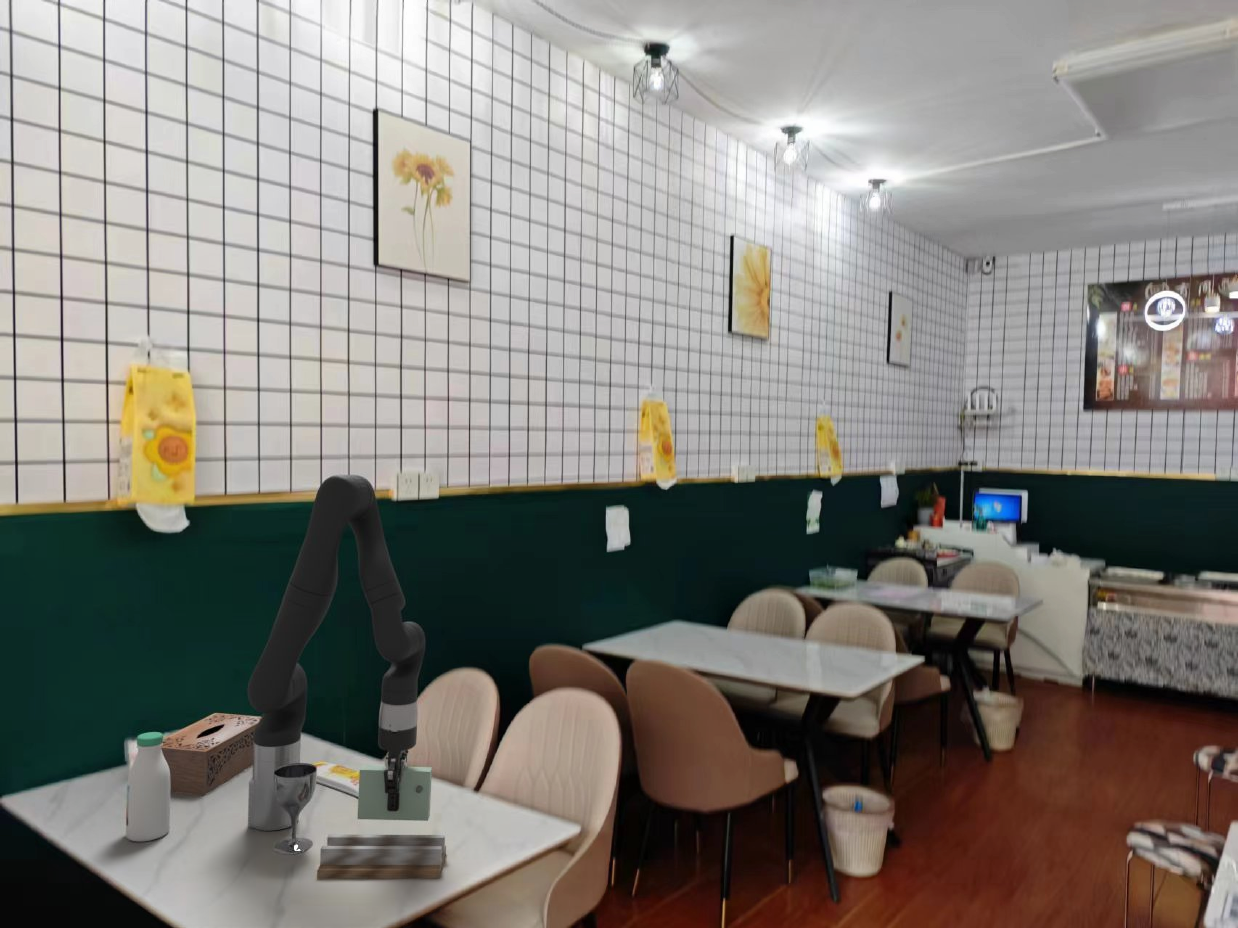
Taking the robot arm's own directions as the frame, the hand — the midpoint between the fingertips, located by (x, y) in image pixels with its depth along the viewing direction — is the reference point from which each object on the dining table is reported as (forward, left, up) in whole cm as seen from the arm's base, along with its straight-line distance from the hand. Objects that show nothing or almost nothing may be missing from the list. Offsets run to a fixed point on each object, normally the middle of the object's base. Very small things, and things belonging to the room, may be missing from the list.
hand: (394, 807), depth 179 cm
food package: (-17, +29, -7) cm, 34 cm away
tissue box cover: (-50, +35, -7) cm, 61 cm away
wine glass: (-19, -4, -6) cm, 20 cm away
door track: (0, -12, -6) cm, 13 cm away
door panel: (0, 0, -2) cm, 2 cm away
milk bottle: (-49, +1, -6) cm, 49 cm away
